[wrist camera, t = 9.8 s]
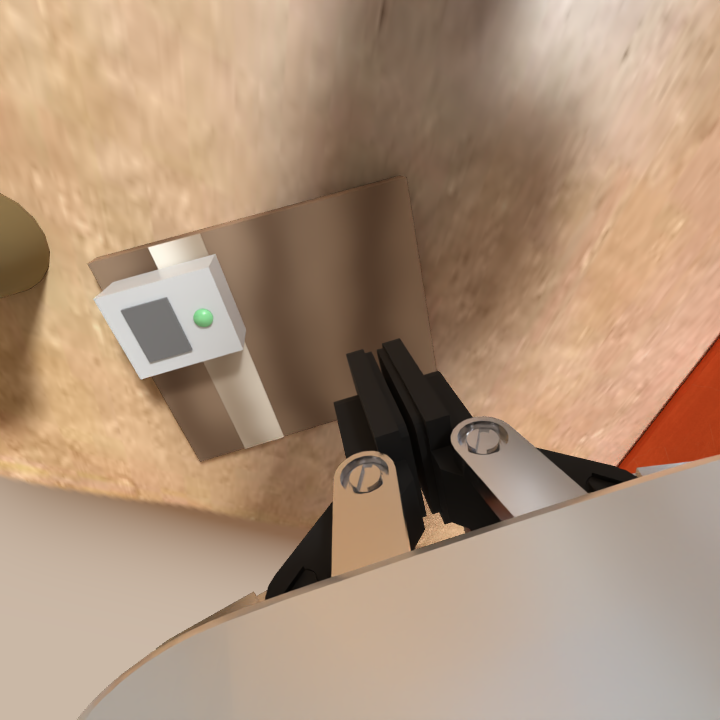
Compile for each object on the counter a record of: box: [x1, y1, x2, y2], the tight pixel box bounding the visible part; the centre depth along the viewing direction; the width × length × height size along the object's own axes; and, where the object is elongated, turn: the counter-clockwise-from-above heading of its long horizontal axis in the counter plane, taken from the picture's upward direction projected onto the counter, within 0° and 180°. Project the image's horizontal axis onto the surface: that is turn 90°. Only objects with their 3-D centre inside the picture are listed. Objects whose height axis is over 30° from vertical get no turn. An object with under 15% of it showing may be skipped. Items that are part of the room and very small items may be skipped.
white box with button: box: [94, 254, 246, 379], centre depth 23 cm, size 6×5×3 cm
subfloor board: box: [88, 176, 436, 462], centre depth 28 cm, size 19×16×2 cm
